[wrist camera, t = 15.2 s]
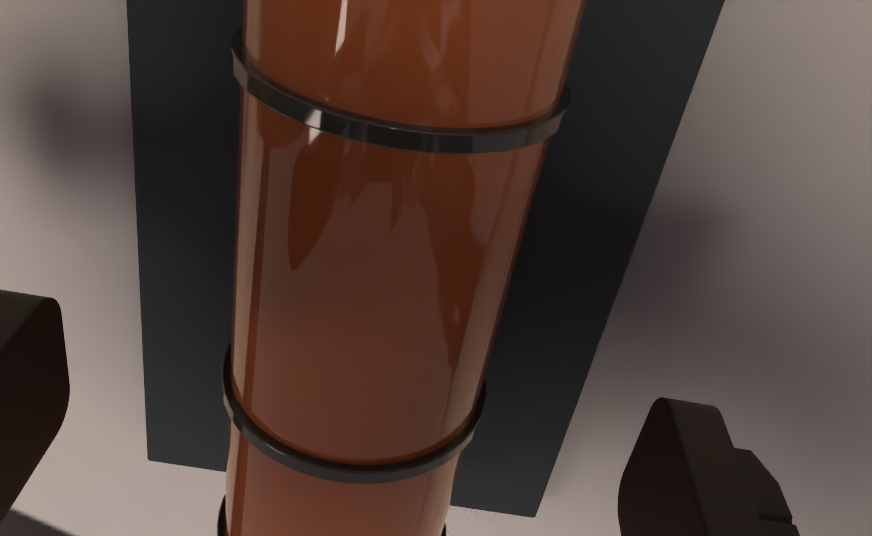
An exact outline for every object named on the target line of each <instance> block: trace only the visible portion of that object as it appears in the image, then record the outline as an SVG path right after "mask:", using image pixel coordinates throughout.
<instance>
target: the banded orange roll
mask: <svg viewBox="0 0 872 536" xmlns="http://www.w3.org/2000/svg"><path fill="white" fill-rule="evenodd" d="M587 1H588V0H243V15H242V24H241V25H239V26H238V28H237V29H236V30H235V31H234V33H233V35H232V38H231V41H230V66H231V69H232V71H233V74H234V76H235V78H236V79H237V81H238V82H239V83H240V100H239V128H238V156H237V185H236V213H235V241H234V270H233V298H232V326H231V342H230V344H229V345H228V347H227V350H226V352H225V355H224V357H223V363H222V368H221V392H222V396H223V401H224V405H225V407H226V409H227V412H228V439H227V468H226V494H225V496H224V498H223V500H222V503H221V506H220V509H219V514H218V521H217V536H446V524H445V521H446V517H447V513H448V510H449V506H450V502H451V499H452V495H453V491H454V488H455V484H456V480H457V477H458V473H459V469H460V466H461V462H462V458H463V455H464V451H465V448H466V445H467V444H468V443H469V442H470V441H471V440H472V438H473V436H474V435H475V433H476V431H477V429H478V427H479V425H480V422H481V419H482V416H483V413H484V409H485V404H486V397H487V393H486V382H485V374H486V371H487V367H488V363H489V360H490V356H491V352H492V349H493V345H494V341H495V338H496V334H497V330H498V327H499V323H500V320H501V316H502V312H503V309H504V305H505V301H506V298H507V294H508V290H509V287H510V283H511V279H512V276H513V272H514V268H515V265H516V261H517V257H518V254H519V250H520V246H521V243H522V239H523V235H524V232H525V228H526V224H527V221H528V217H529V213H530V210H531V206H532V202H533V199H534V195H535V191H536V188H537V184H538V181H539V177H540V173H541V170H542V166H543V162H544V159H545V155H546V151H547V148H548V144H549V140H550V137H551V136H552V135H553V134H555V133H556V132H557V131H558V130H559V129H560V128H561V127H562V126H563V124H564V122H565V120H566V118H567V114H568V111H569V107H570V104H571V90H570V87H569V84H568V83H567V81H566V78H567V74H568V71H569V67H570V63H571V60H572V56H573V53H574V49H575V45H576V42H577V38H578V34H579V31H580V27H581V23H582V20H583V16H584V12H585V9H586V5H587Z"/></svg>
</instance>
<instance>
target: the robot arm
mask: <svg viewBox="0 0 872 536" xmlns="http://www.w3.org/2000/svg"><path fill="white" fill-rule="evenodd" d="M69 394H70V384H69V375H68V366H67V358H66V349H65V340H64V332H63V323H62V315H61V309H60V306H59V304H58V302H57V301H56V300H55V299H53V298H49V297H43V296H37V295H31V294H24V293H18V292H12V291H6V290H0V524H1V522H2V521H3V519H4V517H5V516H6V514H7V513H8V511H9V509H10V508H11V506H12V505H13V503H14V502H15V500H16V498H17V497H18V495H19V494H20V492H21V490H22V489H23V487H24V486H25V484H26V482H27V481H28V479H29V478H30V476H31V475H32V473H33V471H34V470H35V468H36V467H37V465H38V463H39V462H40V460H41V459H42V457H43V456H44V454H45V452H46V451H47V449H48V448H49V446H50V444H51V443H52V441H53V440H54V438H55V436H56V435H57V433H58V431H59V430H60V427H61V425H62V423H63V420H64V418H65V414H66V411H67V407H68V402H69ZM618 519H619V525H620V530H621V536H800V534H799V532H798V530H797V527H796V525H793V524H792V515H791V513H790V510H789V508H788V505H787V503H786V501H785V498H784V496H783V493H782V491H781V488H780V486H779V484H778V482H777V481H776V480H775V478H774V477H773V476H772V475H771V474H770V473H769V471H768V470H767V469H766V468H765V467H764V465H763V464H762V463H761V462H760V461H759V460H758V458H757V457H756V456H755V455H754V454H753V453H752V451H751V450H745V449H738V448H734V447H733V444H732V442H731V439H730V436H729V434H728V431H727V428H726V425H725V423H724V420H723V417H722V415H721V413H720V411H719V410H718V408H716V407H715V406H712V405H706V404H700V403H693V402H687V401H681V400H675V399H668V398H662V397H661V398H658V399H657V400H656V401H655V402H654V403H653V405H652V407H651V409H650V411H649V413H648V416H647V418H646V420H645V423H644V425H643V427H642V430H641V432H640V435H639V437H638V439H637V442H636V444H635V446H634V449H633V451H632V453H631V456H630V458H629V460H628V463H627V465H626V467H625V470H624V472H623V475H622V478H621V482H620V487H619V494H618Z"/></svg>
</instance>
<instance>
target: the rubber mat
mask: <svg viewBox="0 0 872 536" xmlns="http://www.w3.org/2000/svg"><path fill="white" fill-rule="evenodd" d="M724 1H725V0H588V1H587V5H586V9H585V12H584V16H583V20H582V23H581V27H580V31H579V34H578V38H577V42H576V45H575V49H574V53H573V56H572V60H571V63H570V67H569V71H568V74H567V78H566V81H567V83H568V84H569V87H570V90H571V104H570V107H569V111H568V114H567V118H566V120H565V122H564V124H563V126H562V127H561V128H560V129H559V130H558V131H557V132H556V133H555V134H553V135H552V136H551V137H550V140H549V144H548V148H547V151H546V155H545V159H544V162H543V166H542V170H541V173H540V177H539V181H538V184H537V188H536V191H535V195H534V199H533V202H532V206H531V210H530V213H529V217H528V221H527V224H526V228H525V232H524V235H523V239H522V243H521V246H520V250H519V254H518V257H517V261H516V265H515V268H514V272H513V276H512V279H511V283H510V287H509V290H508V294H507V298H506V301H505V305H504V309H503V312H502V316H501V320H500V323H499V327H498V330H497V334H496V338H495V341H494V345H493V349H492V352H491V356H490V360H489V363H488V367H487V371H486V374H485V382H486V393H487V397H486V404H485V409H484V413H483V416H482V419H481V422H480V425H479V427H478V429H477V431H476V433H475V435H474V436H473V438H472V440H471V441H470V442H469V443H468V444H467V445H466V448H465V451H464V455H463V458H462V462H461V466H460V469H459V473H458V477H457V480H456V484H455V488H454V491H453V495H452V499H451V502H450V505H452V506H459V507H465V508H472V509H479V510H486V511H492V512H499V513H506V514H512V515H519V516H526V517H535V516H536V513H537V511H538V508H539V505H540V503H541V500H542V497H543V494H544V492H545V489H546V486H547V483H548V481H549V478H550V475H551V473H552V470H553V467H554V464H555V462H556V459H557V456H558V453H559V451H560V448H561V445H562V443H563V440H564V437H565V434H566V432H567V429H568V426H569V423H570V421H571V418H572V415H573V413H574V410H575V407H576V404H577V402H578V399H579V396H580V393H581V391H582V388H583V385H584V383H585V380H586V377H587V374H588V372H589V369H590V366H591V363H592V361H593V358H594V355H595V353H596V350H597V347H598V344H599V342H600V339H601V336H602V334H603V331H604V328H605V325H606V323H607V320H608V317H609V314H610V312H611V309H612V306H613V304H614V301H615V298H616V295H617V293H618V290H619V287H620V284H621V282H622V279H623V276H624V274H625V271H626V268H627V265H628V263H629V260H630V257H631V254H632V252H633V249H634V246H635V244H636V241H637V238H638V235H639V233H640V230H641V227H642V224H643V222H644V219H645V216H646V214H647V211H648V208H649V205H650V203H651V200H652V197H653V194H654V192H655V189H656V186H657V184H658V181H659V178H660V175H661V173H662V170H663V167H664V164H665V162H666V159H667V156H668V154H669V151H670V148H671V145H672V143H673V140H674V137H675V134H676V132H677V129H678V126H679V124H680V121H681V118H682V115H683V113H684V110H685V107H686V104H687V102H688V99H689V96H690V94H691V91H692V88H693V85H694V83H695V80H696V77H697V74H698V72H699V69H700V66H701V64H702V61H703V58H704V55H705V53H706V50H707V47H708V44H709V42H710V39H711V36H712V34H713V31H714V28H715V25H716V23H717V20H718V17H719V15H720V12H721V9H722V6H723V4H724ZM242 15H243V0H127V19H128V41H129V62H130V84H131V106H132V127H133V149H134V171H135V192H136V214H137V236H138V257H139V279H140V301H141V322H142V344H143V365H144V387H145V409H146V430H147V452H148V460H150V461H156V462H163V463H170V464H176V465H183V466H190V467H197V468H203V469H210V470H217V471H223V472H226V468H227V439H228V412H227V409H226V407H225V405H224V401H223V396H222V392H221V368H222V363H223V357H224V355H225V352H226V350H227V347H228V345H229V344H230V342H231V326H232V298H233V270H234V241H235V213H236V185H237V156H238V128H239V100H240V83H239V82H238V81H237V79H236V78H235V76H234V74H233V71H232V69H231V66H230V41H231V38H232V35H233V33H234V31H235V30H236V29H237V28H238V26H239V25H241V24H242Z"/></svg>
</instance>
